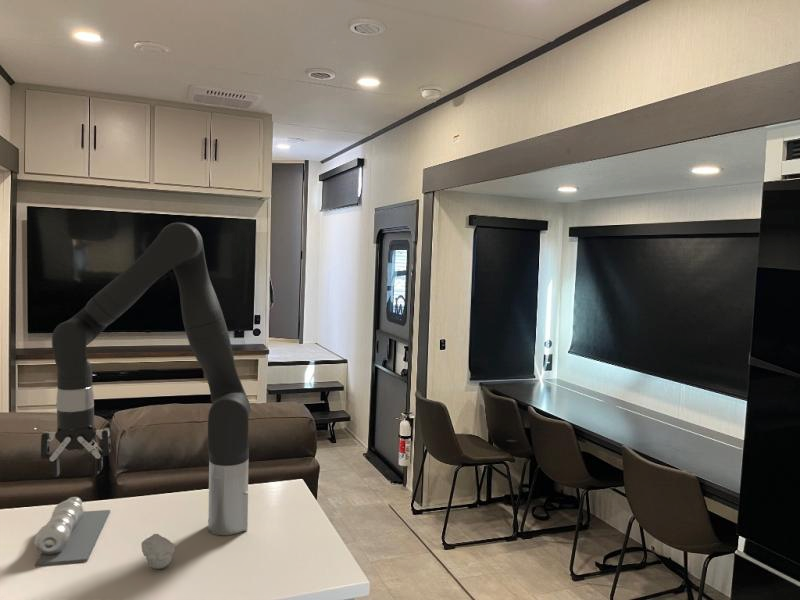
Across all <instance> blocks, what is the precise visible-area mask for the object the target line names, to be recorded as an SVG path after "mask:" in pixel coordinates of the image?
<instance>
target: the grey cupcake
mask: <svg viewBox="0 0 800 600" xmlns="http://www.w3.org/2000/svg"><path fill="white" fill-rule="evenodd" d="M175 549H176V546H175V544H174V543H173V542H172V541H170V540H169V539H168V538H166V537H164V536H162V535H160V534H159V533H153V534H152V535H151V536H149V537H146V538H145V539H144V540H143V541H142V542H141V552H142V554H143V556H144V557H145V559H146V561H147V564H148V565H149V566H150V567H151V568H153V569H154V570H162V569H164V568H166V567H167V566H169V564H170V563H171V562H172V559H173V554H174V552H175Z"/></svg>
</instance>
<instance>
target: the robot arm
mask: <svg viewBox="0 0 800 600" xmlns="http://www.w3.org/2000/svg"><path fill="white" fill-rule="evenodd" d="M204 248H205V247H204V241H203V237H202V235H201V233H200V232H199V230H198V229H197V228H196V227H194V226H193V225H191V224H189V223H185V222H172V223H170V224H167V225H166V226H164V228H162V229H161V231H160V232H159V233H158V235H157V236H156V237H155V239H154V240H153V241H152V243H150V245H149V246H148V247H147V248H146V249H145V251H144V252H143V253H142V254H141V255H140V256H139V257H138V258H137V259H136V260H135V261H134V262H133V263H132V264H131V265H129V266H128V267H127V268H126V269H125V270H123V271H122V272H121V273H120V274H119V275H117V276H116V277H114V278H113V280H111V281H110V282H109V283H107V285H105V286H104V287H103V288H101V289H100V290H99V291H97V293H96V294H94V295H93V296H92V297H91V298H90V300H88V302H87V303H86V305H85V306H84V307H83V308H82V309H81V310H79V311H78V312H76V314H74V315H73V316H72V317H71V318H69V319H68V320H66V321H64V322H63V321H62V322H61V323H59V324H58V325H57V326H56V327H55V328H54V330H53V332H52V336H51V347H52V348H51V349H52V353H53V358H54V361H55V366H56V368H57V372H56V373H57V374H56V377H57V379H56V380H57V388H56V389H57V392H56V403H55V405H56V406H55V407H56V426H57V427H56V431H50V430H48V429H47V430H45V431H44V432H43V433H42V434H41V436H40V438H41V439H40V459H41V460H48V461H49V462H50V474H51V475H53V477H54V478H55V477H59V475H60V474H61V469H60V468H61V467H60V466H61V465H60V460H61V459H60V458H59V456H60V454H61V453H62V452H63V451H64V450H67V451H74V450H77V451H81V450H84V449H85V450H87V451H88V453H91V454H92V456H93V457H94V459H93V460H94V475H99V473H100V472H102V469H103V467H104V461H103V459H104V457H106V456H109V454H110V453H111V451H112V442H111V431H110V430H111V429H110V428H109V427H107V426H106V427H105V428H104V429H103V428H102V429H97V428H96V427H95V426H96V425H95V398H94V397H95V395H94V390H93V368H92V363H90V362H89V360H88V353H87V346H89V344H91V343H92V342H93V341H94V340H95V339H96V338H97V337H99V336H100V334H101V333H102V332H103V331H104V330H106V328H107V327H108V326H109V325H111V324H112V323H113V322H115V321H117V319H118V318H119V317H121V316H122V315H123V314H124V313H126V312H127V311H128V309H130V308H131V307H132V306H134V304H136V302H137V301H139V299H140V298H141V297H142V296H143V295H145V293H146V291H148V289H150V288H151V287H152V285H154V284H155V283H156V282H157V281H158V280H160V278H161V277H163V276H164V275H165V274H167V273H168V272H170V271H172V270H173V272H174V275H175V278H176V281H177V285H178V289H179V298H180V299H179V301H180V310H181V317H182V323H183V327H184V330H185V333H186V334H185V335H186V337H187V340H188V344H189V346H190V349H191V351H192V353H193V354H194V356H195V359H196V361H197V362H198V364H199V366H200V368H202V371H203V372H204V373H203V374H204V375H205V378H206V381H207V384H208V387H209V393H210V398H211V406H210V409H209V411H208V416H207V450H208V456H209V457H208V463H209V464H208V469H209V470H208V519H207V523H208V525H207V527H208V528H207V529H208V532H210V533H211V534H214V535H217V536H232V535H235V534H238V533H239V534H240V533H241V532H244V531H245V532H246V531H248V524H249V523H248V521H249V519H248V518H249V517H248V516H249V513H248V512H249V460H250V459H249V457H250V456H249V455H250V449H249V417H250V414H251V403H250V401H249V397H248V396H247V394H246V391H245V389H244V387H243V384H242V381H241V379H240V376H239V374H238V370H237V368H236V363H235V357H234V352H233V348H232V342H231V339H230V338H231V337H230V335H229V331H228V327H227V323H226V320H225V317H224V314H223V310H222V308H221V305H220V302H219V299H218V296H217V294H216V293H217V292H216V291H215V289H214V287H213V284H212V281H211V278H210V274H209V270H208V266H207V260H206V254H205V249H204ZM97 436H98V438H99V439H100V440H101V441H102V449H101V447H100V446H99V445H98V443H97V442H96V441H95V440H94V439H95V437H97ZM54 438H55V439H56V440H57V441H58V442H59V445H58V447H57V448H56V450H55V451H54V452H51V450H50V449H51V442H52V441H53V440H54Z"/></svg>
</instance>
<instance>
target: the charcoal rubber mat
mask: <svg viewBox="0 0 800 600" xmlns="http://www.w3.org/2000/svg"><path fill="white" fill-rule="evenodd" d="M83 511H84V510H83ZM110 514H111V509H104V510H103V509H101V510H89V511H84V514H83V517H82V519H81V520H80V521H79V523H78V524H77V525H76V526H75V527H74V528H73V530H72V532H71V535H70V539H69V542H68V544H67V546H66V547H65V548H64V549H63V550H61V551H60V552H58V553H56V554H52V555H47V554H43V553H41V552H40V554H39V557H38V558H37V560H36V561H35V563H34V566H35V567H39V566H51V565H64V564H73V563H86V562H88V560H89V559H90V556H91V555H92V552H93V550H94V548H95V546H96V544H97V541H98V539H99V537H100V535H101V533H102V531H103V528H104V526H105V524H106V522H107V519H108V518H109V515H110Z"/></svg>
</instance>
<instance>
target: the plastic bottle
mask: <svg viewBox="0 0 800 600" xmlns="http://www.w3.org/2000/svg"><path fill="white" fill-rule="evenodd" d="M83 514H84V506H83V501H82V499H81V498H80V497H78V496H71V497H69V498H67V499H65V500H63V501H61V502H60V503H58V504H57V505H56V506H55V507H54V509H53V512H52V513H51V517H50V519H49V521H48V522H47V523H46V524H45V525H43V526H42V527H41V528H40V529H39V530H38V531H37V533H36V536H35V539H34V547H35V549H36V550H37V551H38V552H40V554H41V553H43V554H47V555H52V554H56V553H58V552H60V551H61V550H63V549H64V548H65V547H66V546H67V544H68V542H69V539H70V535H71V532H72V530H73V528H74V527H75V526H76V525H77V524H78V523H79V521H80V520H81V519H82V517H83Z"/></svg>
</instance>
